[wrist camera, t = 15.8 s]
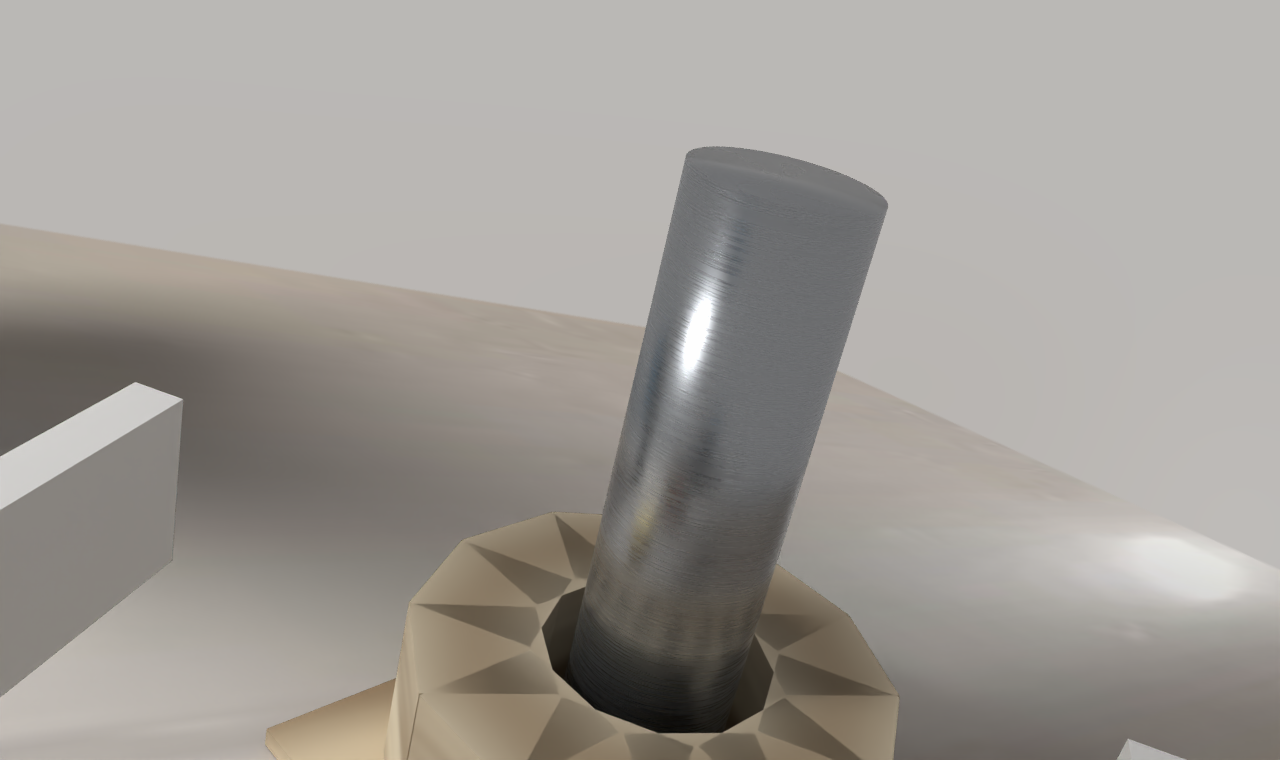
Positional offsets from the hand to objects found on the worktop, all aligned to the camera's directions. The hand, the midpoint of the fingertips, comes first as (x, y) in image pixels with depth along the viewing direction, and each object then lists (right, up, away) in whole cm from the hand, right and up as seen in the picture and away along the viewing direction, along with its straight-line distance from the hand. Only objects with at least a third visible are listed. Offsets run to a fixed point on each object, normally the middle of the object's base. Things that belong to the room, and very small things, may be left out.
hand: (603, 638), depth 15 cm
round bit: (0, -7, +14) cm, 15 cm away
